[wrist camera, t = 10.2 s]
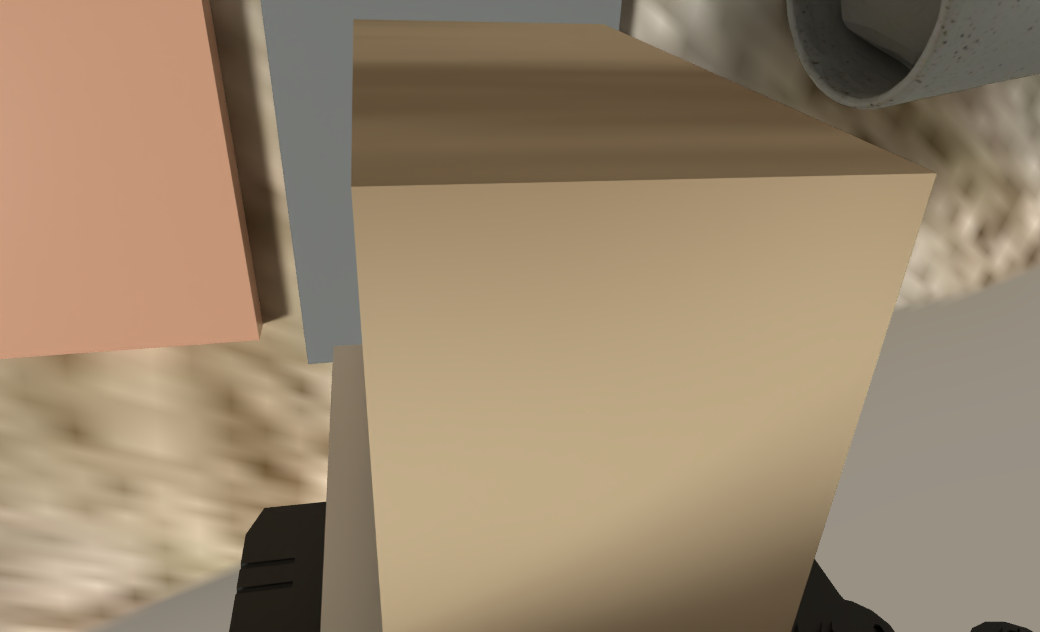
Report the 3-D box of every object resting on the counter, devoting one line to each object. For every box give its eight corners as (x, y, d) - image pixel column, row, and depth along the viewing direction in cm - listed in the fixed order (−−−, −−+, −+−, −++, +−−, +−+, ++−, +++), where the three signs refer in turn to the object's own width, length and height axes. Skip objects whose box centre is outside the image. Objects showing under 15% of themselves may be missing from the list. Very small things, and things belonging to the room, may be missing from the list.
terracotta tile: (-222, -35, 19) (-55, 362, 24) (196, -29, 20) (259, 339, 26) (-182, -39, 20) (-32, 337, 26) (206, -34, 22) (264, 317, 28)
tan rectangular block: (142, 15, 11) (-242, 200, 4) (771, 27, 13) (1273, 165, 6) (257, 623, 17) (190, 1114, 10) (668, 570, 19) (849, 951, 12)
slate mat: (251, -94, 21) (248, -94, 20) (620, -82, 23) (629, -81, 22) (309, 352, 28) (308, 363, 28) (585, 332, 30) (590, 342, 30)
